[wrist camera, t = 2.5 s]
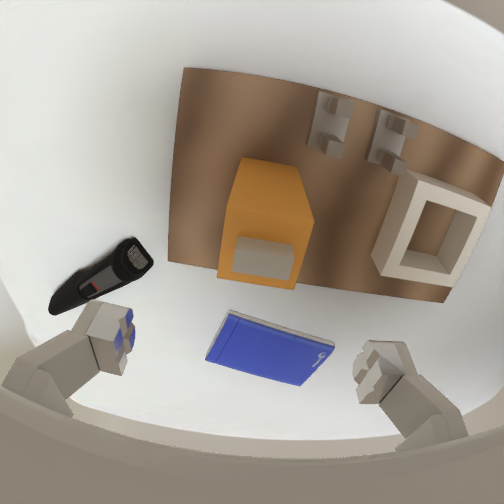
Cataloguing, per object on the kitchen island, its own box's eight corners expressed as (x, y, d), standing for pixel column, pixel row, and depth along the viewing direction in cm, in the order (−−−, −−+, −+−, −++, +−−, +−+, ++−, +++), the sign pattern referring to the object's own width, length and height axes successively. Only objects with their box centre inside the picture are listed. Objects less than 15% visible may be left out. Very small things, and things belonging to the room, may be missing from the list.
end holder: (473, 193, 21) (491, 207, 19) (440, 268, 25) (453, 287, 23) (402, 167, 21) (418, 180, 18) (370, 255, 25) (380, 275, 22)
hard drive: (335, 349, 32) (228, 316, 30) (299, 387, 36) (204, 361, 34) (333, 339, 33) (230, 305, 31) (298, 378, 37) (206, 351, 35)
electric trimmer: (50, 285, 31) (38, 302, 28) (134, 232, 27) (120, 250, 24) (70, 308, 33) (59, 325, 30) (157, 263, 28) (147, 283, 26)
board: (499, 159, 20) (530, 176, 16) (439, 296, 29) (456, 325, 25) (188, 68, 19) (168, 65, 15) (171, 253, 27) (156, 285, 23)
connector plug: (296, 167, 21) (318, 234, 13) (285, 216, 24) (295, 305, 15) (241, 156, 21) (223, 217, 13) (233, 207, 23) (213, 292, 15)
